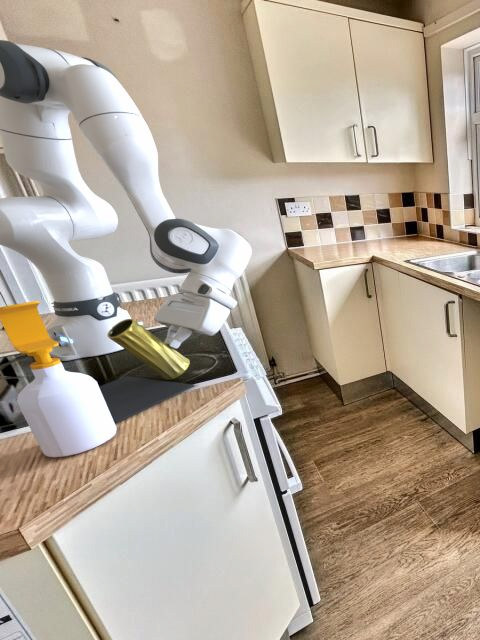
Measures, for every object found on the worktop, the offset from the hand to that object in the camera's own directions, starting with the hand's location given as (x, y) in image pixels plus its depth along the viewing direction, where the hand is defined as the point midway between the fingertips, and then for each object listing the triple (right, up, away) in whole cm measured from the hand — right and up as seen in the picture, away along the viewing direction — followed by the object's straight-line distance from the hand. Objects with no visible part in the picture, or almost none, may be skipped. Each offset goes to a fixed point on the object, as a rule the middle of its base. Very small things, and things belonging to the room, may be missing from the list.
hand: (170, 346), depth 93 cm
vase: (0, -5, +2) cm, 6 cm away
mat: (-4, -10, -7) cm, 13 cm away
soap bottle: (+3, -16, -22) cm, 27 cm away
